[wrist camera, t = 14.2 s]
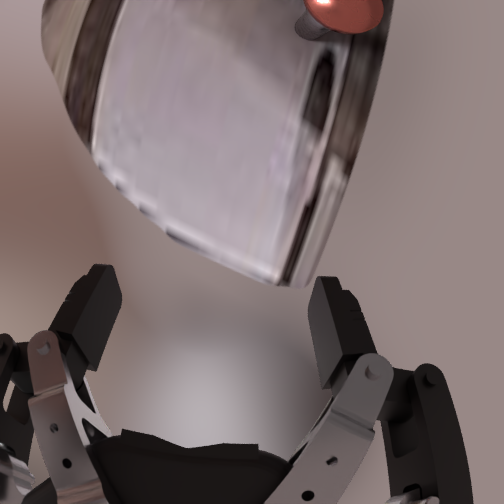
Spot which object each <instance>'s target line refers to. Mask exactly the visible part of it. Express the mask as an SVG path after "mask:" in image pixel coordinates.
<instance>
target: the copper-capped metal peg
mask: <svg viewBox="0 0 504 504" xmlns="http://www.w3.org/2000/svg"><path fill="white" fill-rule="evenodd" d="M303 1H304V4H305V7H306V11H305V12H304V14H303V15H302V16H301V17H300V18H299V19H298V21H297V22H296V24H295V31H296V33H297V34H298V35H299V36H300V37H302V38H304V39H307V40H313V39H316V38H318V37H320V36H321V35H323V34H325V33H327V32H328V31H330V30H332V31H335V32H338V33H342V34H359V33H362V32H365V31H368V30H371V29H373V28H374V27H376V26H377V25H378V24H379V22H380V21H381V19H382V16H383V3H382V0H303Z"/></svg>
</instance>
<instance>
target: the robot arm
mask: <svg viewBox="0 0 504 504" xmlns="http://www.w3.org/2000/svg"><path fill="white" fill-rule="evenodd" d="M121 303H122V293H121V290H120V287H119V284H118V281H117V278H116V274H115V271H114V268H113V266H112V265H105V264H94V265H93V266H92V268H91V269H90V271H89V272H88V274H87V275H84V276H82V277H81V278H80V279H79V280H78V281H77V282H75V284H74V285H73V287H72V288H71V290H70V292H69V294H68V295H67V297H66V298H65V302H63V304H62V305H61V307H60V309H59V311H58V312H57V314H56V316H55V318H54V320H53V322H52V324H51V325H50V327H49V329H48V330H43V331H40V332H38V333H36V334H35V335H34V336H33V337H32V338H31V339H30V341H29V342H21V343H15V341H14V340H13V339H12V337H11V336H10V335H8V334H6V333H3V334H0V504H337V502H338V500H339V499H340V497H341V496H342V494H343V493H344V491H345V489H346V488H347V486H348V485H349V483H350V482H351V480H352V478H353V476H354V475H355V473H356V471H357V470H358V468H359V466H360V464H361V462H362V460H363V459H364V457H365V455H366V453H367V451H368V449H369V447H370V445H371V443H372V441H373V438H374V435H375V431H374V430H373V426H374V424H375V421H376V420H380V421H381V426H382V432H383V439H384V445H385V451H386V458H387V466H388V475H389V484H390V495H391V498H390V499H389V500H388V501H387V502H386V503H385V504H473V494H472V486H471V479H470V472H469V466H468V461H467V456H466V451H465V446H464V442H463V437H462V433H461V429H460V426H459V422H458V418H457V415H456V411H455V408H454V404H453V401H452V398H451V395H450V392H449V389H448V386H447V383H446V380H445V378H444V375H443V373H442V371H441V370H440V369H439V368H438V367H436V366H434V365H432V364H428V363H427V364H422V365H420V366H419V367H418V368H417V369H416V370H415V371H409V370H403V369H397V368H394V367H392V365H391V364H390V362H389V361H388V360H387V359H386V358H384V357H383V356H381V355H379V354H378V353H377V351H376V348H375V345H374V343H373V340H372V337H371V334H370V332H369V329H368V326H367V323H366V321H365V320H364V319H365V318H364V315H363V313H362V312H361V308H360V305H359V303H358V300H357V299H356V298H355V296H354V295H353V294H352V293H351V292H350V291H349V290H342V287H341V285H340V282H339V280H338V278H337V277H328V276H327V277H326V276H318V277H317V278H316V281H315V284H314V288H313V292H312V295H311V299H310V302H309V306H308V320H309V325H310V330H311V335H312V340H313V345H314V350H315V355H316V360H317V366H318V371H319V376H320V382H321V387H322V389H330V388H331V390H332V395H333V396H332V397H331V399H330V400H329V402H328V404H327V405H326V407H325V409H324V410H323V412H322V413H321V415H320V416H319V418H318V420H317V421H316V423H315V424H314V426H313V427H312V429H311V430H310V432H309V433H308V434H307V436H306V437H305V438H304V440H303V441H302V442H301V444H300V445H299V446H298V447H297V449H296V450H295V452H294V453H293V454H292V455H291V457H290V458H289V459H288V461H286V460H284V459H282V458H281V457H279V456H276V455H274V454H272V453H268V452H266V451H262V450H258V444H228V443H222V444H216V445H210V446H202V447H196V448H184V447H181V446H178V445H176V444H173V443H170V442H168V441H165V440H163V439H161V438H158V437H156V436H154V435H149V434H144V433H139V432H135V431H130V430H125V429H122V432H121V435H118V436H113V435H112V433H111V431H110V430H109V428H108V426H107V425H106V423H105V422H104V421H103V419H102V417H101V415H100V413H99V411H98V408H97V406H96V403H95V401H94V398H93V396H92V393H91V390H90V388H89V385H88V382H87V380H86V377H85V376H84V375H85V372H86V370H91V371H97V368H98V366H99V362H100V360H101V357H102V354H103V351H104V349H105V346H106V343H107V341H108V338H109V335H110V333H111V330H112V328H113V325H114V323H115V320H116V318H117V315H118V313H119V310H120V308H121ZM10 380H11V381H12V382H13V383H14V384H15V386H14V390H13V392H12V396H11V399H10V402H9V405H8V409H7V412H5V410H4V408H3V399H4V396H5V393H6V390H7V387H8V384H9V381H10ZM34 430H35V434H36V438H37V441H38V444H39V447H40V450H41V453H42V456H43V459H44V462H45V465H46V467H47V470H48V472H49V475H50V477H49V478H48V479H47V480H45V481H44V482H43V483H41V484H40V485H38V486H37V487H36V488H34V489H32V486H31V485H33V484H34V483H35V478H34V476H33V474H32V473H30V472H29V469H28V460H29V454H30V449H31V443H32V438H33V433H34Z"/></svg>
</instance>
